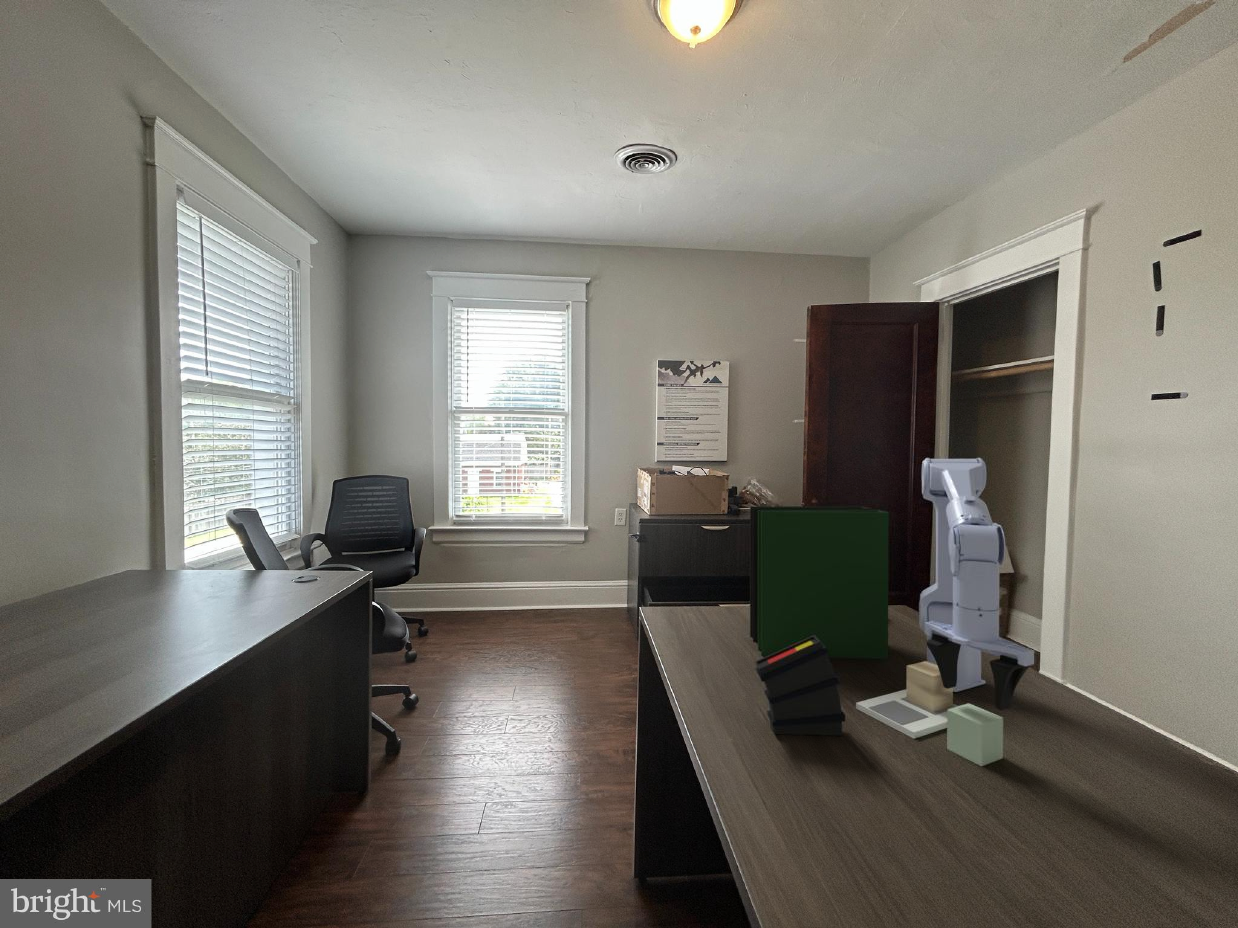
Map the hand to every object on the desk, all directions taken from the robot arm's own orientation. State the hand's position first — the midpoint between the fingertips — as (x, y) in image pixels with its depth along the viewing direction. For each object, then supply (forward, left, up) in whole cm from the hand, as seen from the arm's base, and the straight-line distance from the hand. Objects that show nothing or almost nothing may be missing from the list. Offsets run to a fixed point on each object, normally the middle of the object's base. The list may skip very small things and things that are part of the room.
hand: (974, 696), depth 79 cm
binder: (-12, -44, -9) cm, 46 cm away
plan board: (-3, -12, -8) cm, 15 cm away
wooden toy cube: (-7, -12, -7) cm, 16 cm away
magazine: (+19, -16, -9) cm, 26 cm away
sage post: (0, 0, -8) cm, 8 cm away
